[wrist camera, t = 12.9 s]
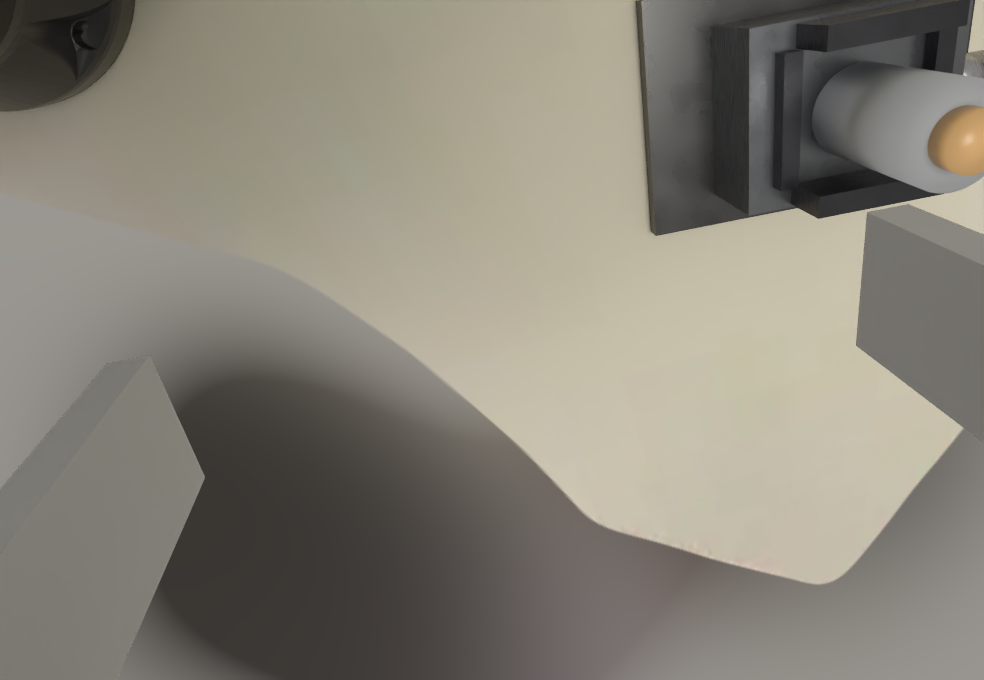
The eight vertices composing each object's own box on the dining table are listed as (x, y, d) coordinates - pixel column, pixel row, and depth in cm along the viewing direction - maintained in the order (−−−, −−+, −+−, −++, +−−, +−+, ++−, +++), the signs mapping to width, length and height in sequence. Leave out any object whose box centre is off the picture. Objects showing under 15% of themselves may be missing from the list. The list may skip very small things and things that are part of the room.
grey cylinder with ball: (807, 162, 38) (911, 207, 30) (816, 67, 36) (932, 89, 28) (893, 150, 39) (1020, 192, 30) (908, 55, 36) (1049, 73, 28)
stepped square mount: (651, 231, 46) (702, 279, 38) (636, 1, 39) (693, -1, 31) (940, 174, 46) (1051, 209, 38) (970, -63, 40) (1112, -81, 32)
